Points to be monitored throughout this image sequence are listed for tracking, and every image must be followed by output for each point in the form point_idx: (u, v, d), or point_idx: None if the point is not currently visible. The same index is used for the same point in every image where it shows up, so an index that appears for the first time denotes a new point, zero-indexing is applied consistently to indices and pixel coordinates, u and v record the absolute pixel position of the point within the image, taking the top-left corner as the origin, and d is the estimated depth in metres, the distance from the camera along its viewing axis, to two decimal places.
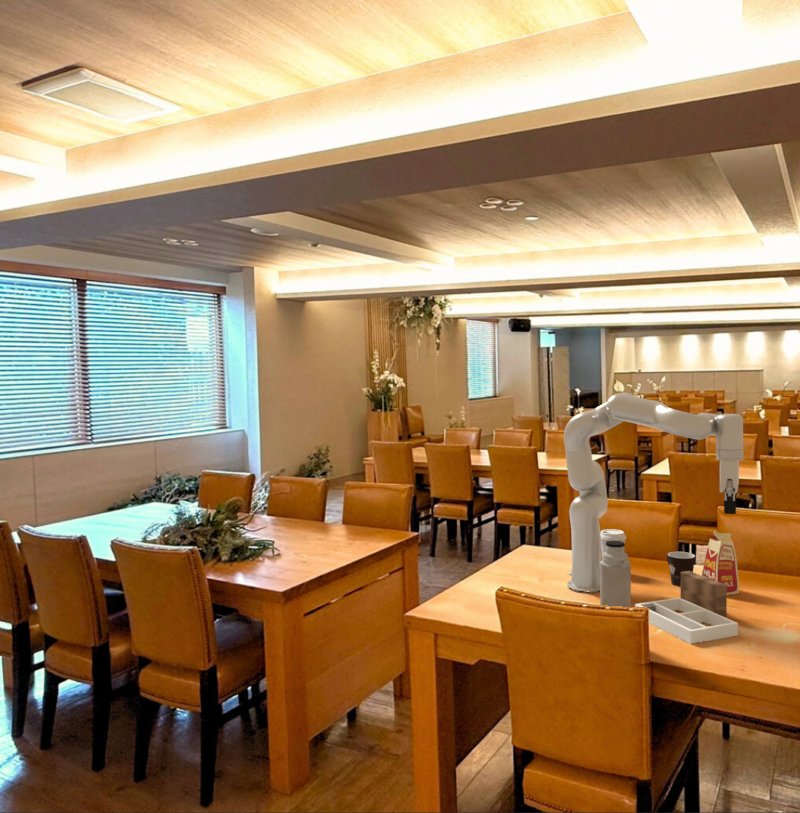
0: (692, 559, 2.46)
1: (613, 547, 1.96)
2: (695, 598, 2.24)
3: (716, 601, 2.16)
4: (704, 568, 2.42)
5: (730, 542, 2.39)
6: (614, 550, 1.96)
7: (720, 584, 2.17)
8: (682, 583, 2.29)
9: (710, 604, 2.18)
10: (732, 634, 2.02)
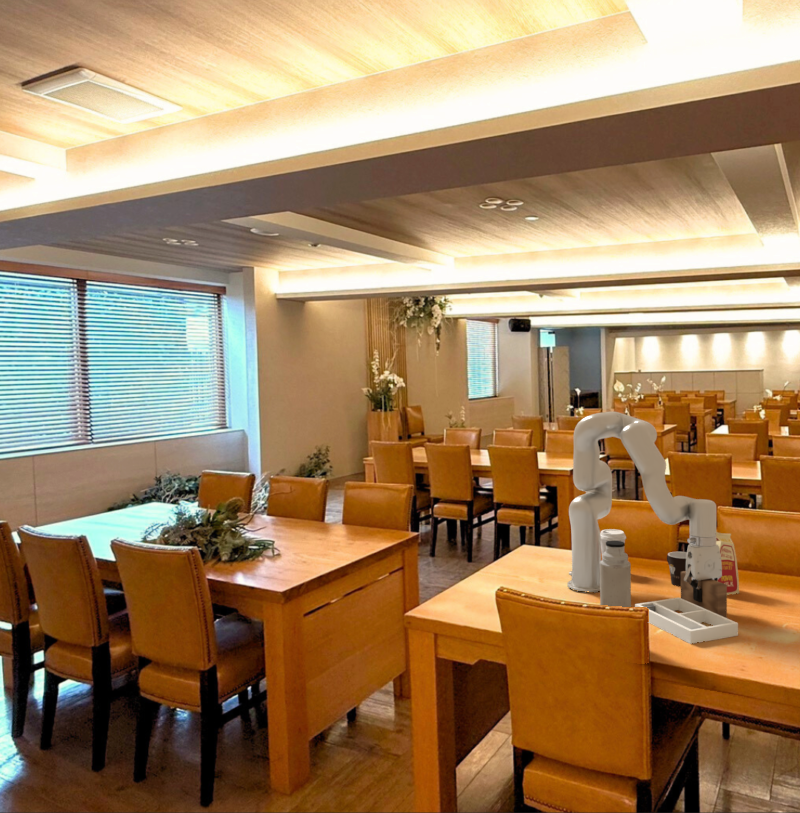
0: None
1: (613, 547, 1.96)
2: None
3: (716, 601, 2.16)
4: None
5: (730, 542, 2.39)
6: (614, 550, 1.96)
7: (720, 584, 2.17)
8: (682, 583, 2.29)
9: (710, 604, 2.18)
10: (732, 634, 2.02)
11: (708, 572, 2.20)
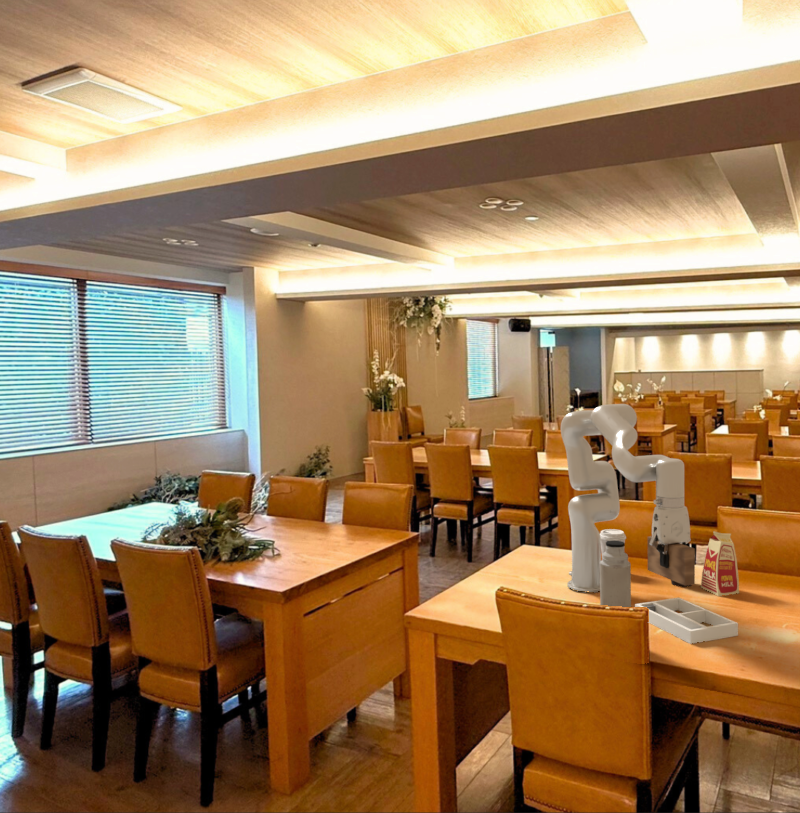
0: None
1: (613, 547, 1.96)
2: None
3: (683, 565, 2.01)
4: (704, 568, 2.42)
5: (730, 542, 2.39)
6: (614, 550, 1.96)
7: (688, 547, 2.02)
8: (649, 548, 2.15)
9: (677, 569, 2.04)
10: (732, 634, 2.02)
11: (675, 535, 2.06)
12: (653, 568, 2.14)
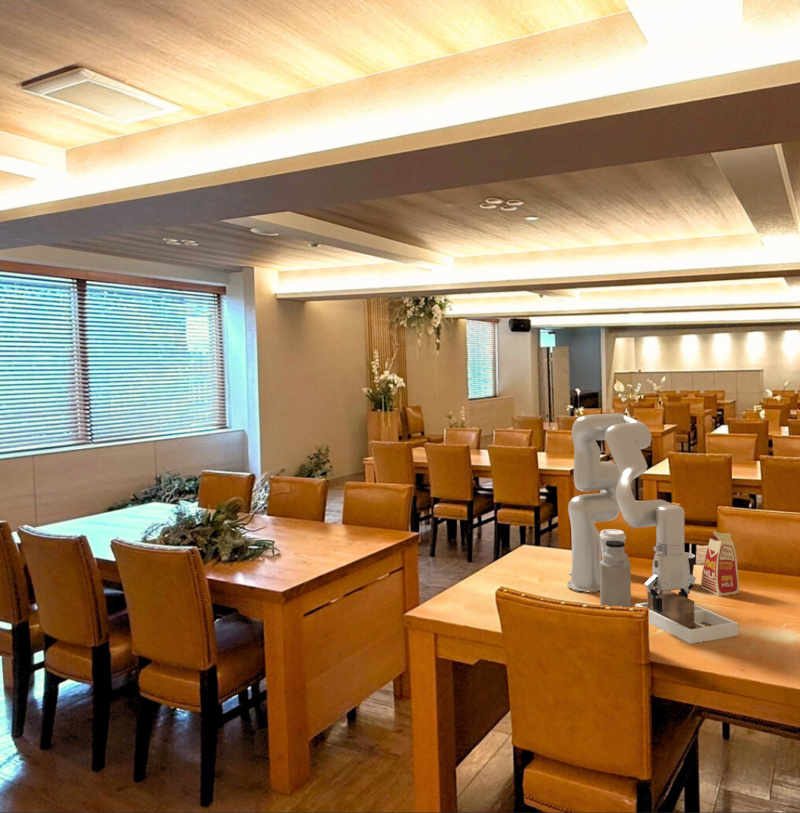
0: (692, 559, 2.46)
1: (613, 547, 1.96)
2: (662, 615, 2.11)
3: (683, 618, 2.02)
4: (704, 568, 2.42)
5: (730, 542, 2.39)
6: (614, 550, 1.96)
7: (687, 600, 2.03)
8: (649, 598, 2.16)
9: (677, 621, 2.05)
10: (732, 634, 2.02)
11: (675, 582, 2.06)
12: None
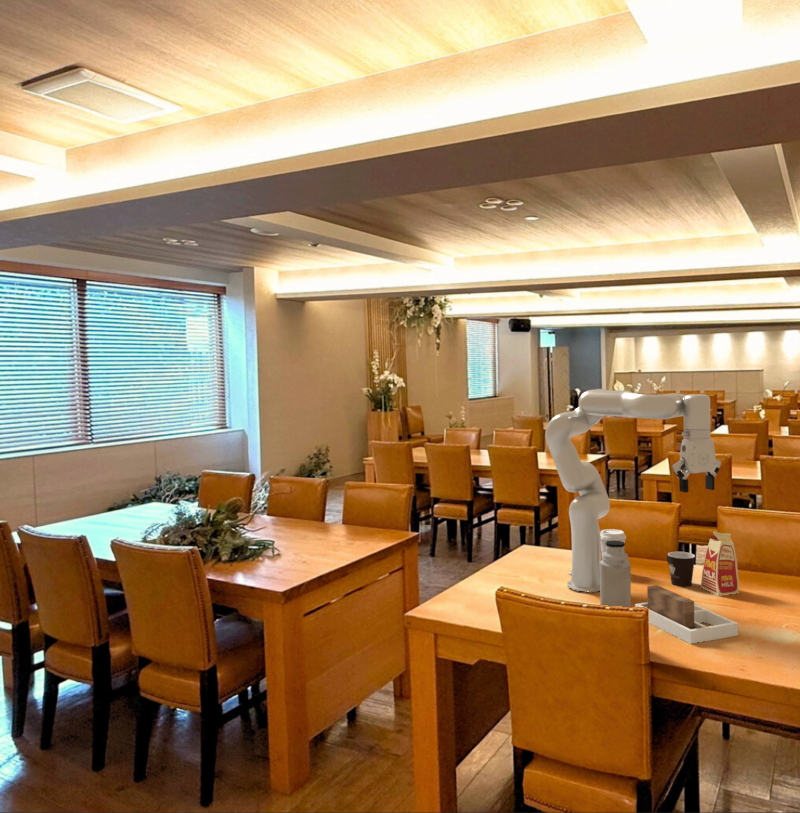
0: (692, 559, 2.46)
1: (613, 547, 1.96)
2: (662, 615, 2.11)
3: (683, 618, 2.02)
4: (704, 568, 2.43)
5: (730, 542, 2.39)
6: (614, 550, 1.96)
7: (687, 600, 2.03)
8: (649, 598, 2.16)
9: (677, 621, 2.05)
10: (732, 634, 2.02)
11: (702, 465, 2.21)
12: None
